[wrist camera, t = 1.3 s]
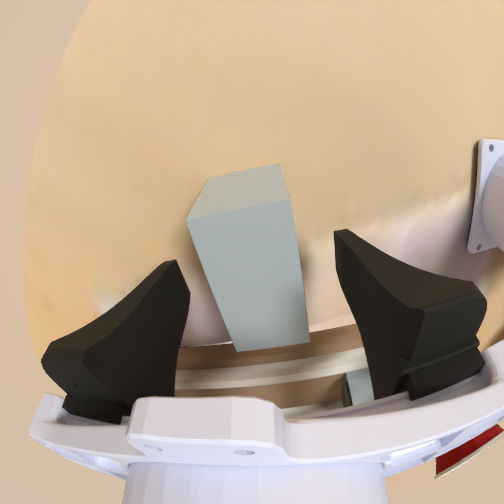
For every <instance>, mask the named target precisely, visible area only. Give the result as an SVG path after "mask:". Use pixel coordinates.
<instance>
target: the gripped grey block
mask: <svg viewBox="0 0 504 504" xmlns="http://www.w3.org/2000/svg"><path fill="white" fill-rule="evenodd" d="M186 223H187V225H188V228H189V231H190V234H191V237H192V240H193V242H194V245H195V248H196V251H197V253H198V256H199V259H200V261H201V264H202V267H203V269H204V272H205V275H206V277H207V280H208V282H209V285H210V288H211V290H212V293H213V295H214V298H215V300H216V303H217V305H218V308H219V310H220V313H221V315H222V318H223V320H224V323H225V325H226V327H227V330H228V332H229V335H230V337H231V339H232V342H233V344H234V347H235V349H236V351H237V352H241V351H250V350H259V349H267V348H275V347H282V346H289V345H295V344H302V343H308V342H310V336H309V327H308V318H307V310H306V302H305V294H304V286H303V279H302V271H301V264H300V257H299V251H298V244H297V237H296V231H295V225H294V219H293V212H292V207H291V201H290V197H289V193H288V190H287V187H286V183H285V180H284V177H283V174H282V170H281V167H280V164H279V163H278V164H273V165H267V166H262V167H257V168H252V169H247V170H242V171H238V172H233V173H228V174H224V175H219V176H215V177H211V178H209V179H208V181H207V182H206V184H205V186H204V188H203V189H202V191H201V193H200V195H199V197H198V198H197V200H196V202H195V204H194V206H193V208H192V209H191V211H190V213H189V215H188V217H187V219H186Z"/></svg>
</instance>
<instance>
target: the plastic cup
mask: <svg viewBox="0 0 504 504" xmlns="http://www.w3.org/2000/svg"><path fill="white" fill-rule="evenodd" d="M503 435H504V430H503V429H502V428H500V426H499V425H498V424H495V425H494V426H492V427H491V428H489V429H487V430H486V431H484V432H483V433H481V434H479V435H477V436H476V437H474V438H472V439H471V440H469V441H467V442H465V443H463V444H462V445H460V446H458V447H456V448H454V449H452V450H450V451H448V452H446V453H444V454H442V455H440V456H438V457H436V476H435V479H437V478H439V477H441V476H443V475H445V474H447V473H449V472H451V471H453V470H455V469H456V468H458V467H460V466H461V465H463V464H465V463H466V462H468V461H469V460H471V459H472V458H474V457H475V456H477V455H478V454H480V453H481V452H483V451H484V450H485V449H487V448H488V447H490V446H491V445H492V444H494V443H495V442H496V441H497V440H499V439H500V438H501V437H502V436H503Z"/></svg>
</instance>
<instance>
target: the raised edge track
mask: <svg viewBox="0 0 504 504" xmlns="http://www.w3.org/2000/svg"><path fill="white" fill-rule="evenodd" d="M309 336H310V342H308V343H302V344H295V345H289V346H282V347H275V348H267V349H259V350H250V351H241V352H237V351H236V349H235V347H234V344H233V343H231V344H221V345H210V346H197V347H183V348H179V352H178V358H177V367H176V377H175V397H217V396H254V397H258V398H261V399H265V400H268V401H271V402H273V403H274V404H275V405H276V406H277V407H278V408H280V409H281V410H282V412H283V415H284V417H292V416H299V415H306V414H313V413H319V412H325V411H330V410H335V409H340V408H345V407H350V406H354V405H358V404H363V403H367V402H371V401H374V395H373V388H372V383H371V378H370V373H369V368H368V363H367V359H366V355H365V350H364V346H363V343H362V339H361V335H360V332H359V329H358V326H357V324H352V325H348V326H343V327H338V328H333V329H327V330H323V331H317V332H311V333H309Z"/></svg>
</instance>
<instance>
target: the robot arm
mask: <svg viewBox="0 0 504 504" xmlns="http://www.w3.org/2000/svg"><path fill="white" fill-rule="evenodd" d="M489 146H490V149H489ZM334 244H335V261H336V271H337V275H338V278H339V282H340V285H341V288H342V290H343V293H344V295H345V297H346V300H347V302H348V304H349V307H350V309H351V311H352V314H353V316H354V318H355V321H356V323H357V326H358V329H359V332H360V335H361V339H362V343H363V346H364V350H365V355H366V359H367V363H368V368H369V373H370V378H371V383H372V388H373V395H374V401H371V402H367V403H363V404H358V405H354V406H350V407H345V408H340V409H335V410H330V411H325V412H319V413H313V414H306V415H299V416H292V417H284V415H283V412H282V410H281V409H280V408H278V407H277V406H276V405H275V404H274V403H273V402H271V401H268V400H265V399H261V398H258V397H254V396H217V397H175V377H176V367H177V358H178V352H179V348H180V344H181V340H182V336H183V332H184V328H185V324H186V320H187V316H188V312H189V304H190V291H189V289H188V286H187V284H186V282H185V279H184V277H183V275H182V273H181V270H180V268H179V265H178V263H177V261H176V260H171V261H165V262H163V263H162V264H161V265H159V266H158V267H157V268H156V269H155V270H154V271H153V272H152V273H151V274H150V275H148V276H147V277H146V278H145V279H144V280H143V281H142V282H141V283H140V284H139V285H138V286H137V287H136V288H135V289H134V290H132V291H131V292H130V293H129V294H128V295H127V296H126V297H125V298H124V299H122V300H121V301H120V302H119V303H118V304H116V305H115V306H114V307H113V308H111V309H110V310H109V311H107V312H106V313H104V314H103V315H101V316H100V317H98V318H97V319H95V320H94V321H92V322H91V323H89V324H87V325H86V326H84V327H82V328H80V329H79V330H77V331H75V332H73V333H71V334H69V335H66V336H64V337H62V338H60V339H57V340H55V341H52V342H51V343H50V345H49V346H48V348H47V350H46V352H45V354H44V355H43V357H42V359H41V363H42V366H43V369H44V370H45V372H46V373H47V374H48V375H49V377H50V378H51V379H52V380H53V381H54V382H55V383H56V384H57V385H58V386H59V387H61V388H62V389H63V390H64V391H65V392H66V393H67V395H66V397H65V399H64V398H63V397H61V396H58V395H54V394H50V393H45V394H44V396H43V398H42V401H41V403H40V405H39V408H38V410H37V413H36V415H35V418H34V420H33V423H32V425H31V428H30V431H29V435H30V436H31V437H33V438H34V439H36V440H37V441H39V442H40V443H42V444H43V445H45V446H46V447H48V448H49V449H51V450H52V451H54V452H56V453H57V454H59V455H61V456H62V457H64V458H66V459H68V460H71V461H74V462H76V463H79V464H81V465H83V466H86V467H89V468H92V469H94V470H97V471H99V472H102V473H105V474H108V475H111V476H114V477H117V478H120V479H123V480H126V485H125V491H124V497H123V502H122V504H388V496H387V490H386V484H385V478H386V477H389V476H391V475H394V474H397V473H400V472H402V471H405V470H408V469H410V468H413V467H415V466H418V465H420V464H422V463H425V462H427V461H429V460H432V459H434V458H436V457H438V456H440V455H442V454H444V453H446V452H448V451H450V450H452V449H454V448H456V447H458V446H460V445H462V444H463V443H465V442H467V441H469V440H471V439H472V438H474V437H476V436H477V435H479V434H481V433H483V432H484V431H486V430H487V429H489V428H491V427H492V426H494V425H495V424H497V423H498V422H500V421H502V420H503V419H504V339H503V340H501V341H499V342H498V343H496V344H494V345H492V346H490V347H488V348H486V349H485V350H484V351H483V352H482V353H480V351H479V350H478V348H477V347H478V346H479V344H480V342H479V340H478V338H477V337H476V334H477V332H478V330H479V328H480V326H481V323H482V321H483V319H484V316H485V313H486V310H487V301H486V298H485V297H484V295H483V294H482V293H481V292H480V290H479V289H478V288H477V286H476V285H475V284H474V283H473V282H471V281H465V280H459V279H453V278H448V277H444V276H440V275H436V274H433V273H430V272H427V271H424V270H421V269H418V268H415V267H413V266H410V265H408V264H406V263H404V262H402V261H399V260H397V259H395V258H393V257H391V256H389V255H388V254H386V253H384V252H382V251H381V250H379V249H377V248H376V247H374V246H372V245H371V244H369V243H368V242H366V241H365V240H363V239H362V238H360V237H359V236H357V235H356V234H354V233H353V232H351V231H350V230H348V229H343V230H337V231H334ZM496 247H499V248H500V249H501V250H502V251H503V252H504V140H497V139H481V140H480V142H479V145H478V169H477V183H476V194H475V203H474V210H473V217H472V224H471V230H470V235H469V241H468V246H467V250H468V252H469V253H470V254H475V253H478V252H482V251H485V250H489V249H493V248H496Z"/></svg>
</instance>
